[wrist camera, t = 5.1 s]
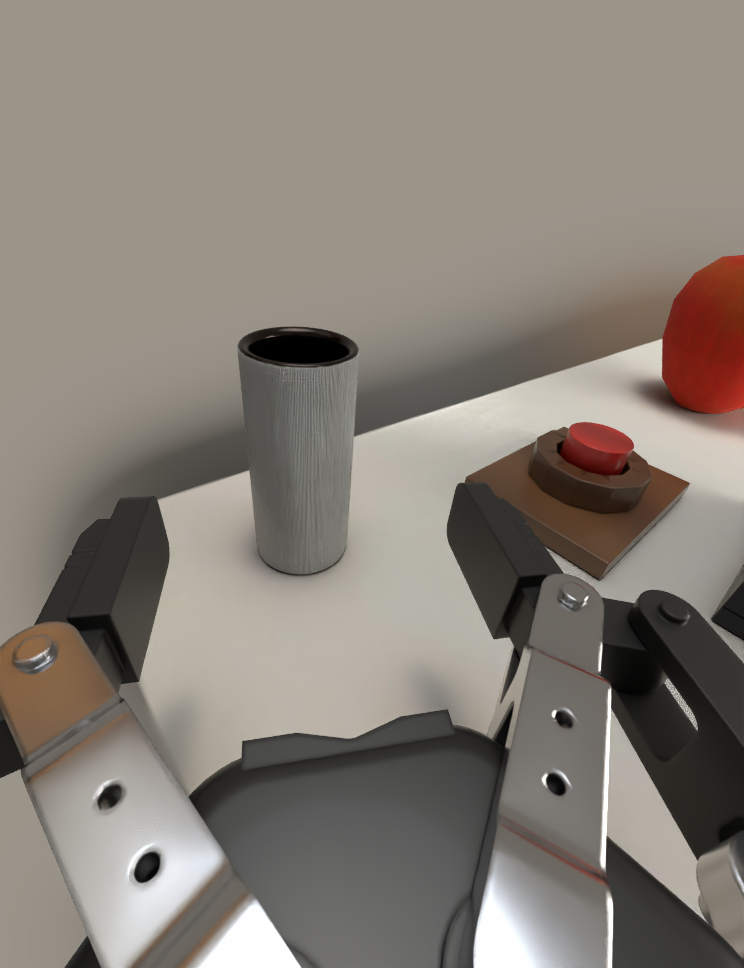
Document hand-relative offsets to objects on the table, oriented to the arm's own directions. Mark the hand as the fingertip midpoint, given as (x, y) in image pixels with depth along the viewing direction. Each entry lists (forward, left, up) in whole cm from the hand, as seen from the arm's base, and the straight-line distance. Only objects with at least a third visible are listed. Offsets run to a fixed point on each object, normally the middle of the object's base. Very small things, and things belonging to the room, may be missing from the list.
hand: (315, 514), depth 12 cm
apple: (+45, 0, -8) cm, 46 cm away
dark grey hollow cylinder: (+4, +6, -8) cm, 11 cm away
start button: (+20, 0, -5) cm, 21 cm away
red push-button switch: (+20, 0, -8) cm, 22 cm away
